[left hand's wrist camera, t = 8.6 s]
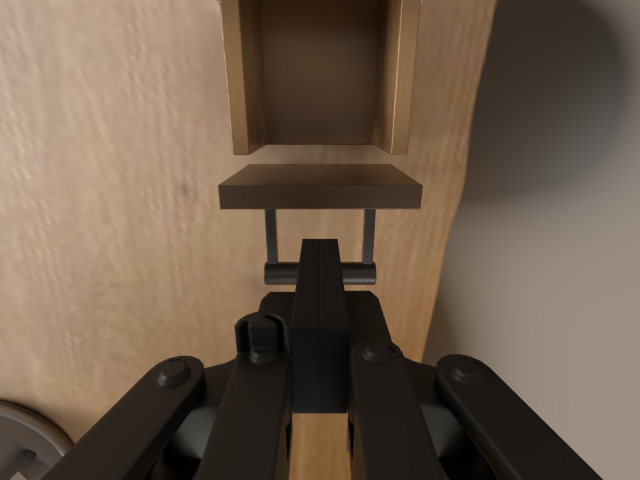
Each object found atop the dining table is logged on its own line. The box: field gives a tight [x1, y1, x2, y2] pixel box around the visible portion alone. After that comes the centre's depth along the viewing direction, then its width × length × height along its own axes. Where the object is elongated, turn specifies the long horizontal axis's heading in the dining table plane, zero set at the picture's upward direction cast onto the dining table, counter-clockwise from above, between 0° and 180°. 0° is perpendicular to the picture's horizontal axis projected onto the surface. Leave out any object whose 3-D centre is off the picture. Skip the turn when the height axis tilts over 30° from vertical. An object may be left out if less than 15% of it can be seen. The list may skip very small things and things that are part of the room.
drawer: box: [218, 0, 422, 285], centre depth 18 cm, size 23×10×8 cm, turn 0°
